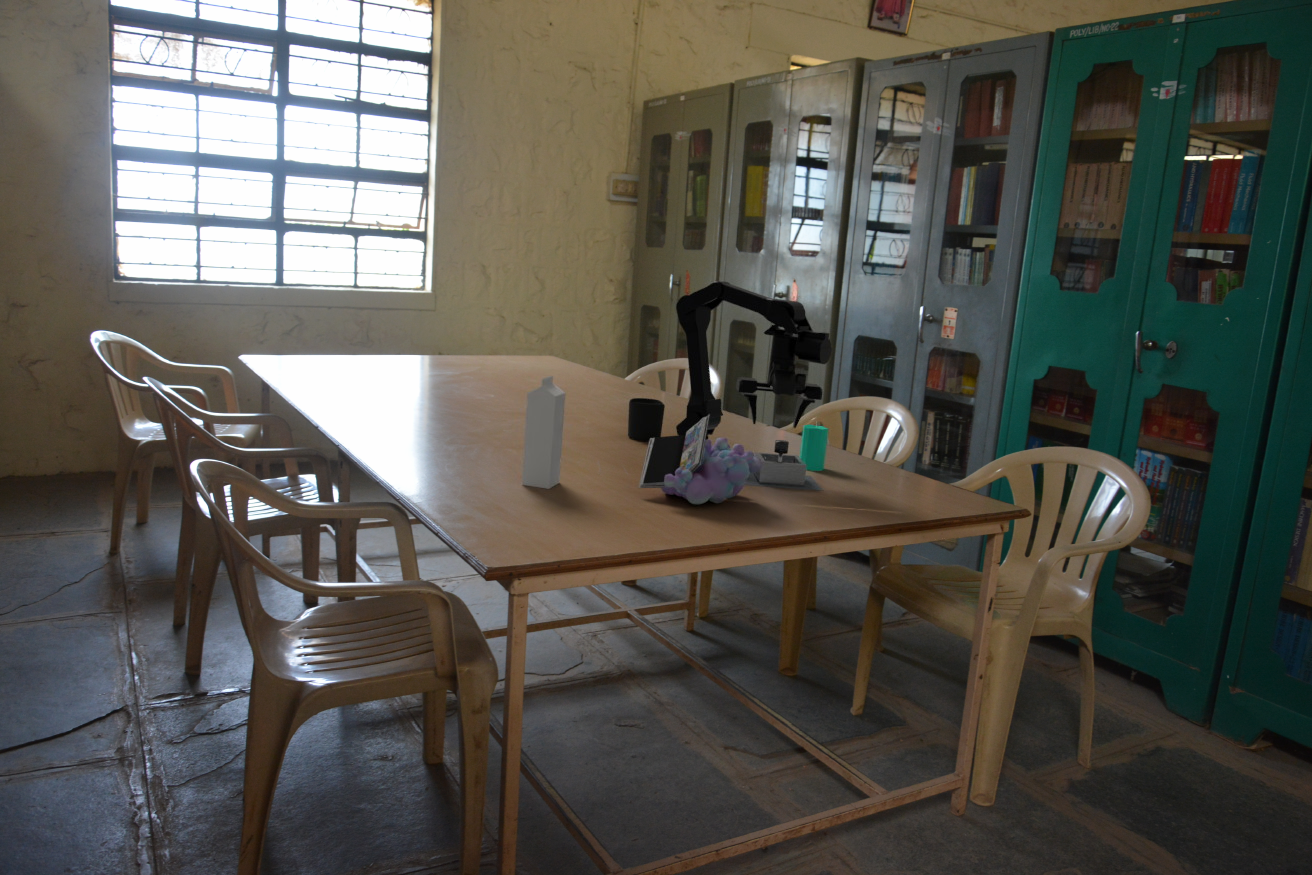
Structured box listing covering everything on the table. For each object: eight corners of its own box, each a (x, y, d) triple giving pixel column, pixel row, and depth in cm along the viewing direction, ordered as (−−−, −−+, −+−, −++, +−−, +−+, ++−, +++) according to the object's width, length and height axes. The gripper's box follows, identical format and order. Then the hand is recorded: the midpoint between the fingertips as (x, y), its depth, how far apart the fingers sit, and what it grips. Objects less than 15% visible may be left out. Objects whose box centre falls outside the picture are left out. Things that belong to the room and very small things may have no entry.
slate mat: (742, 486, 206) (742, 484, 206) (734, 471, 220) (734, 470, 220) (823, 492, 207) (823, 490, 207) (810, 477, 221) (810, 475, 221)
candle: (823, 473, 226) (829, 424, 224) (797, 470, 227) (803, 421, 225) (823, 468, 232) (829, 420, 230) (799, 465, 233) (804, 417, 231)
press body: (746, 482, 208) (748, 460, 207) (740, 472, 218) (742, 451, 217) (803, 487, 209) (806, 465, 208) (795, 476, 218) (797, 455, 218)
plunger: (765, 479, 210) (769, 443, 208) (760, 472, 216) (764, 437, 215) (795, 482, 210) (800, 445, 208) (790, 475, 217) (794, 439, 215)
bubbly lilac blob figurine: (783, 488, 187) (761, 404, 192) (702, 492, 174) (680, 402, 178) (718, 516, 202) (699, 438, 207) (638, 522, 189) (620, 438, 193)
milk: (521, 485, 190) (527, 377, 186) (532, 479, 196) (538, 373, 192) (549, 489, 189) (556, 380, 185) (560, 482, 195) (566, 377, 191)
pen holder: (668, 439, 251) (671, 402, 249) (649, 443, 243) (652, 405, 242) (639, 433, 256) (642, 397, 254) (619, 437, 248) (622, 399, 246)
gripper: (746, 357, 202) (737, 429, 205) (832, 366, 203) (822, 436, 206) (739, 352, 213) (731, 419, 216) (821, 359, 214) (812, 427, 217)
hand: (774, 425), depth 214 cm, fingers open, 9 cm apart
